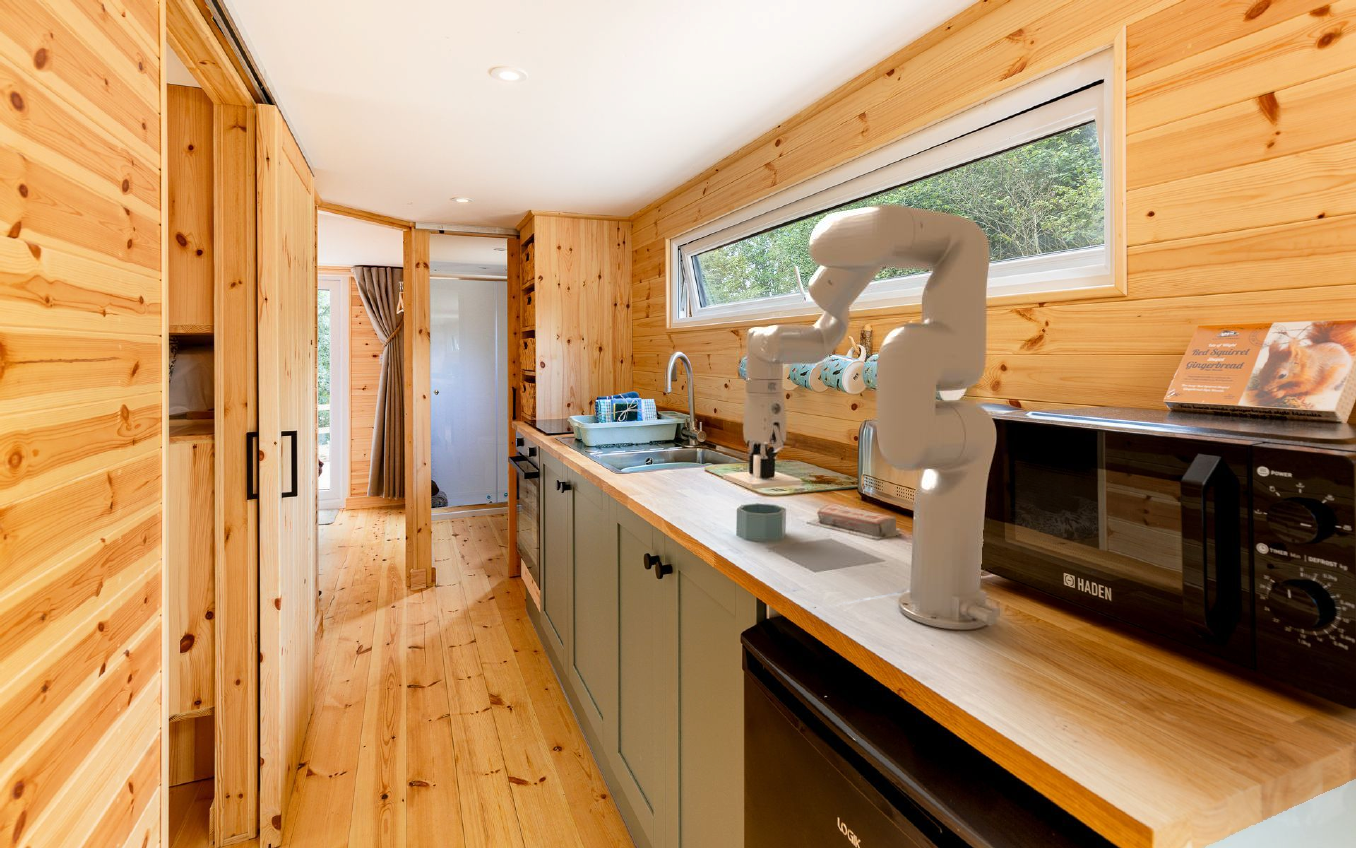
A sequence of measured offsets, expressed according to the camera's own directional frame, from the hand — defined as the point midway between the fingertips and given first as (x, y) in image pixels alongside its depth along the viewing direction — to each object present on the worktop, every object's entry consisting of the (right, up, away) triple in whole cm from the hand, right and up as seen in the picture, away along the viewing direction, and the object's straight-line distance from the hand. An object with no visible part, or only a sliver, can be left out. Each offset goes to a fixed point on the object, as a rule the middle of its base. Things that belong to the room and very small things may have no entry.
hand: (761, 474), depth 135 cm
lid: (0, -1, 0) cm, 1 cm away
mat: (+10, -15, -12) cm, 21 cm away
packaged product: (+21, -13, +8) cm, 26 cm away
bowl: (0, -13, +1) cm, 13 cm away
